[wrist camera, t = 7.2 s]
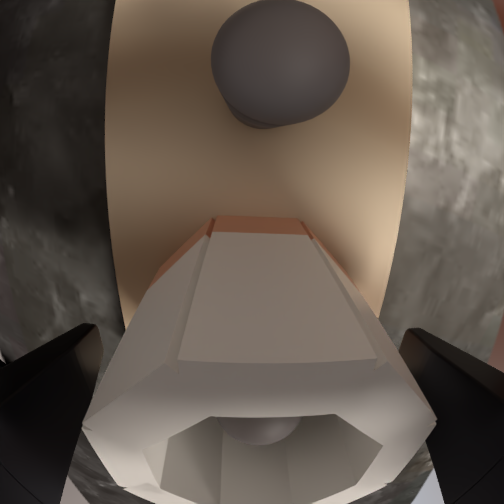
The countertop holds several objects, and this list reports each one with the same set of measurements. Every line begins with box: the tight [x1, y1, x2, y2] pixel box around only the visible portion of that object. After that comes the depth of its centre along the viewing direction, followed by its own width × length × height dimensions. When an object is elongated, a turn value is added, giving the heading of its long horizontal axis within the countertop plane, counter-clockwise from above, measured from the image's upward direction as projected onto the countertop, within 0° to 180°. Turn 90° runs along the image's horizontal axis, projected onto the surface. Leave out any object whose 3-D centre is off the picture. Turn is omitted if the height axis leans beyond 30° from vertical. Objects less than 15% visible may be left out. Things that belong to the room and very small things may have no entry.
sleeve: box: [82, 215, 437, 504], centre depth 7 cm, size 6×6×6 cm
